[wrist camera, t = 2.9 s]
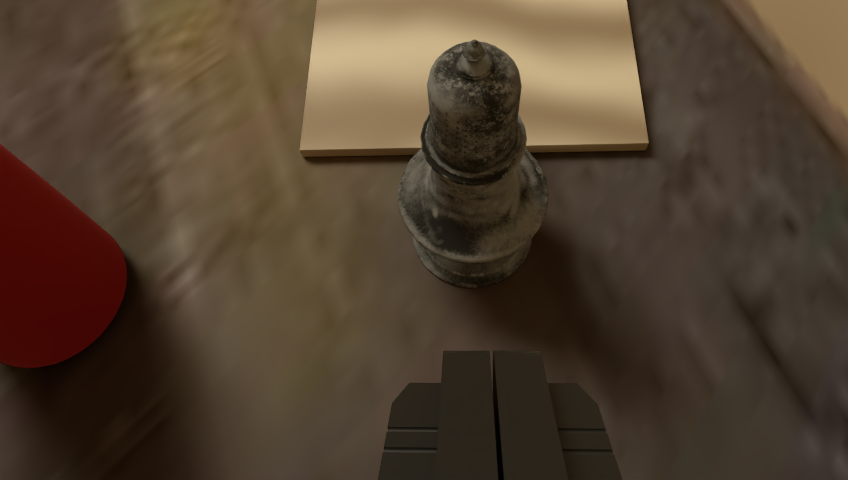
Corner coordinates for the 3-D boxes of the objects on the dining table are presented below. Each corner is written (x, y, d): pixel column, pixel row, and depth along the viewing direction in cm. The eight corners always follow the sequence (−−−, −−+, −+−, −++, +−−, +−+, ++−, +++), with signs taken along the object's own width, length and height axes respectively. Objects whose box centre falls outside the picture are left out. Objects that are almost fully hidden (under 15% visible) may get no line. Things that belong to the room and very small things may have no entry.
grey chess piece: (519, 162, 29) (550, -56, 18) (555, 278, 27) (616, 106, 16) (395, 188, 29) (351, -17, 18) (419, 307, 26) (386, 153, 16)
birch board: (645, 150, 29) (648, 143, 28) (302, 156, 30) (299, 150, 29) (609, -91, 35) (611, -100, 35) (329, -79, 36) (327, -88, 36)
